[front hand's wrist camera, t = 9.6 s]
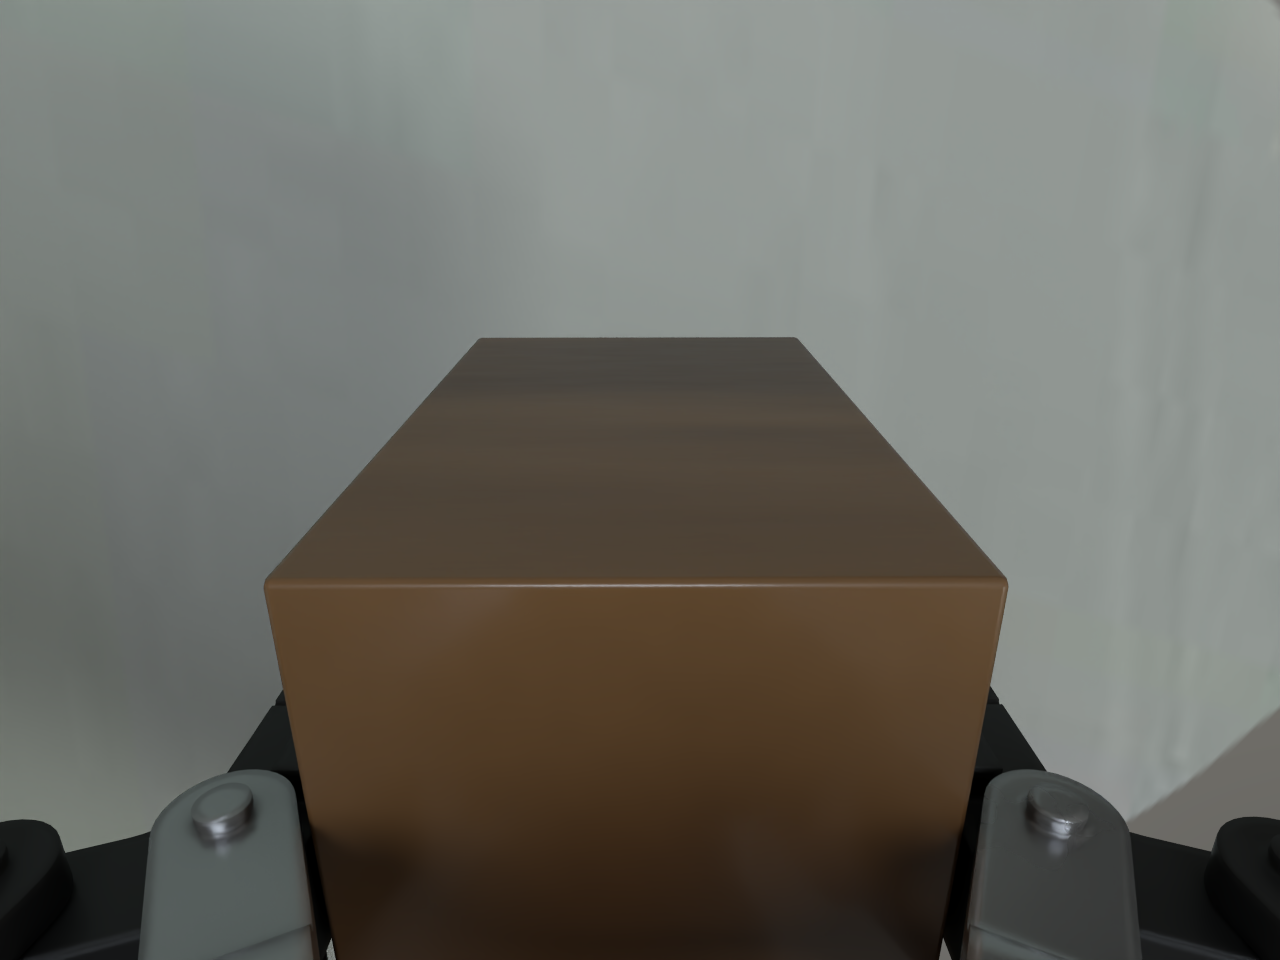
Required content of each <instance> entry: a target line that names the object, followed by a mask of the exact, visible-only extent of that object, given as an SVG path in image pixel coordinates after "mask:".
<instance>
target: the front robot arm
mask: <svg viewBox="0 0 1280 960" xmlns="http://www.w3.org/2000/svg"><path fill="white" fill-rule="evenodd" d="M331 938H332V937H331V932H330V927H329V922H328V916H327V911H326V906H325V901H324V896H323V891H322V886H321V880H320V875H319V870H318V865H317V860H316V855H315V850H314V844H313V839H312V834H311V829H310V824H309V819H308V814H307V808H306V803H305V798H304V793H303V788H302V783H301V778H300V772H299V767H298V762H297V757H296V752H295V747H294V742H293V736H292V731H291V726H290V721H289V716H288V711H287V706H286V701H285V695H284V690H282V692H281V693H280V695H279V696H278V698H277V699H276V705H275V706H272V707H271V708H270V710H269V711H268V713H267V714H266V716H265V717H264V719H263V720H262V722H261V723H260V725H259V726H258V728H257V729H256V731H255V732H254V734H253V735H252V737H251V738H250V740H249V741H248V743H247V744H246V746H245V747H244V749H243V750H242V752H241V753H240V754H239V756H238V757H237V759H236V760H235V762H234V763H233V765H232V766H231V768H230V769H229V771H228V772H227V773H225V774H222V775H219V776H216V777H213V778H210V779H208V780H206V781H203V782H201V783H199V784H197V785H195V786H193V787H192V788H190V789H188V790H187V791H185V792H184V793H182V794H181V795H179V796H178V797H177V798H176V799H174V800H173V801H172V802H171V803H170V804H169V805H168V806H167V807H166V808H165V809H164V810H163V811H162V812H161V814H160V815H159V816H158V818H157V819H156V821H155V823H154V825H153V827H152V829H151V831H150V832H148V833H145V834H142V835H138V836H135V837H131V838H127V839H123V840H119V841H114V842H110V843H106V844H102V845H97V846H93V847H89V848H84V849H80V850H76V851H72V852H67V853H65V851H64V848H63V845H62V842H61V839H60V836H59V835H58V833H57V831H56V830H55V829H54V828H53V827H52V826H51V825H49V824H47V823H44V822H41V821H36V820H23V819H22V820H10V821H5V822H0V960H328V957H327V952H326V950H327V948H328V945H329V943H330V940H331ZM943 938H944V941H945V943H946V946H947V948H948V951H949V954H950V956H951V959H952V960H1280V820H1276V819H1271V818H1264V817H1242V818H1237V819H1233V820H1231V821H1229V822H1227V823H1225V824H1224V825H1223V826H1222V827H1221V828H1220V830H1219V832H1218V834H1217V837H1216V839H1215V842H1214V845H1213V848H1212V851H1211V852H1210V851H1206V850H1202V849H1197V848H1193V847H1189V846H1185V845H1180V844H1176V843H1172V842H1167V841H1163V840H1159V839H1154V838H1150V837H1146V836H1142V835H1139V834H1135V833H1131V832H1129V829H1128V827H1127V825H1126V823H1125V821H1124V819H1123V818H1122V816H1121V815H1120V814H1119V812H1118V811H1117V810H1116V809H1115V808H1114V807H1113V806H1112V805H1111V804H1110V803H1109V802H1108V801H1107V800H1106V799H1104V798H1103V797H1102V796H1101V795H1099V794H1098V793H1096V792H1095V791H1093V790H1092V789H1090V788H1088V787H1087V786H1085V785H1083V784H1081V783H1079V782H1077V781H1074V780H1072V779H1070V778H1067V777H1064V776H1061V775H1058V774H1055V773H1051V772H1047V771H1046V769H1045V768H1044V766H1043V765H1042V763H1041V762H1040V760H1039V759H1038V757H1037V756H1036V754H1035V753H1034V751H1033V750H1032V748H1031V747H1030V745H1029V744H1028V742H1027V741H1026V739H1025V738H1024V736H1023V735H1022V733H1021V732H1020V730H1019V729H1018V727H1017V726H1016V724H1015V723H1014V721H1013V720H1012V718H1011V717H1010V715H1009V714H1008V712H1007V711H1006V709H1005V708H1004V706H1003V705H1002V704H999V699H998V697H997V696H996V694H995V693H994V691H993V690H992V688H991V687H990V688H989V694H988V699H987V704H986V710H985V715H984V720H983V726H982V731H981V736H980V742H979V747H978V752H977V758H976V763H975V769H974V774H973V779H972V785H971V790H970V795H969V801H968V806H967V811H966V817H965V822H964V827H963V833H962V838H961V844H960V849H959V854H958V860H957V865H956V870H955V876H954V881H953V886H952V892H951V897H950V902H949V908H948V913H947V918H946V924H945V929H944V935H943Z"/></svg>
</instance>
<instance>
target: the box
mask: <svg viewBox="0 0 1280 960" xmlns="http://www.w3.org/2000/svg"><path fill="white" fill-rule="evenodd" d="M1007 592H1008V582H1007V578H1006V577H1005V576H1004V575H1003V574H1002V572H1001V571H1000V570H999V569H998V568H997V567H996V566H995V564H994V563H993V562H992V561H991V560H990V559H989V558H988V556H987V555H986V554H985V553H984V552H983V551H982V550H981V548H980V547H979V546H978V545H977V544H976V543H975V541H974V540H973V539H972V538H971V537H970V536H969V535H968V533H967V532H966V531H965V530H964V529H963V528H962V527H961V525H960V524H959V523H958V522H957V521H956V520H955V519H954V517H953V516H952V515H951V514H950V513H949V512H948V511H947V509H946V508H945V507H944V506H943V505H942V504H941V503H940V501H939V500H938V499H937V498H936V497H935V496H934V494H933V493H932V492H931V491H930V490H929V489H928V488H927V486H926V485H925V484H924V483H923V482H922V481H921V480H920V478H919V477H918V476H917V475H916V474H915V473H914V472H913V470H912V469H911V468H910V467H909V466H908V465H907V464H906V462H905V461H904V460H903V459H902V458H901V457H900V455H899V454H898V453H897V452H896V451H895V450H894V449H893V447H892V446H891V445H890V444H889V443H888V442H887V441H886V439H885V438H884V437H883V436H882V435H881V434H880V433H879V431H878V430H877V429H876V428H875V427H874V426H873V425H872V423H871V422H870V421H869V420H868V419H867V418H866V416H865V415H864V414H863V413H862V412H861V411H860V410H859V408H858V407H857V406H856V405H855V404H854V403H853V402H852V400H851V399H850V398H849V397H848V396H847V395H846V394H845V392H844V391H843V390H842V389H841V388H840V387H839V386H838V384H837V383H836V382H835V381H834V380H833V379H832V378H831V376H830V375H829V374H828V373H827V372H826V371H825V369H824V368H823V367H822V366H821V365H820V364H819V363H818V361H817V360H816V359H815V358H814V357H813V356H812V355H811V353H810V352H809V351H808V350H807V349H806V348H805V347H804V345H803V344H802V343H801V342H800V341H799V340H798V339H797V338H795V337H733V338H480V339H478V340H477V342H476V343H475V344H474V345H473V346H472V347H471V348H470V349H469V351H468V352H467V353H466V354H465V355H464V356H463V357H462V358H461V360H460V361H459V362H458V363H457V364H456V365H455V366H454V368H453V369H452V370H451V371H450V372H449V373H448V374H447V375H446V377H445V378H444V379H443V380H442V381H441V382H440V383H439V384H438V386H437V387H436V388H435V389H434V390H433V391H432V392H431V393H430V395H429V396H428V397H427V398H426V399H425V400H424V401H423V402H422V404H421V405H420V406H419V407H418V408H417V409H416V410H415V411H414V413H413V414H412V415H411V416H410V417H409V418H408V419H407V420H406V422H405V423H404V424H403V425H402V426H401V427H400V428H399V430H398V431H397V432H396V433H395V434H394V435H393V436H392V437H391V439H390V440H389V441H388V442H387V443H386V444H385V445H384V446H383V448H382V449H381V450H380V451H379V452H378V453H377V454H376V455H375V457H374V458H373V459H372V460H371V461H370V462H369V463H368V464H367V466H366V467H365V468H364V469H363V470H362V471H361V472H360V473H359V475H358V476H357V477H356V478H355V479H354V480H353V481H352V482H351V484H350V485H349V486H348V487H347V488H346V489H345V490H344V491H343V493H342V494H341V495H340V496H339V497H338V498H337V499H336V501H335V502H334V503H333V504H332V505H331V506H330V507H329V508H328V510H327V511H326V512H325V513H324V514H323V515H322V516H321V517H320V519H319V520H318V521H317V522H316V523H315V524H314V525H313V526H312V528H311V529H310V530H309V531H308V532H307V533H306V534H305V535H304V537H303V538H302V539H301V540H300V541H299V542H298V543H297V544H296V546H295V547H294V548H293V549H292V550H291V551H290V552H289V553H288V555H287V556H286V557H285V558H284V559H283V560H282V561H281V562H280V564H279V565H278V566H277V567H276V568H275V569H274V570H273V572H272V573H271V574H270V575H269V576H268V577H267V578H266V580H265V583H264V593H265V598H266V603H267V608H268V613H269V618H270V623H271V629H272V634H273V639H274V644H275V649H276V654H277V659H278V665H279V670H280V675H281V680H282V685H283V690H284V695H285V701H286V706H287V711H288V716H289V721H290V726H291V731H292V736H293V742H294V747H295V752H296V757H297V762H298V767H299V772H300V778H301V783H302V788H303V793H304V798H305V803H306V808H307V814H308V819H309V824H310V829H311V834H312V839H313V844H314V850H315V855H316V860H317V865H318V870H319V875H320V880H321V886H322V891H323V896H324V901H325V906H326V911H327V916H328V922H329V927H330V932H331V937H332V942H333V947H334V952H335V958H336V960H939V956H940V951H941V945H942V940H943V935H944V929H945V924H946V918H947V913H948V908H949V902H950V897H951V892H952V886H953V881H954V876H955V870H956V865H957V860H958V854H959V849H960V844H961V838H962V833H963V827H964V822H965V817H966V811H967V806H968V801H969V795H970V790H971V785H972V779H973V774H974V769H975V763H976V758H977V752H978V747H979V742H980V736H981V731H982V726H983V720H984V715H985V710H986V704H987V699H988V694H989V688H990V683H991V677H992V672H993V667H994V661H995V656H996V651H997V645H998V640H999V635H1000V629H1001V624H1002V619H1003V613H1004V608H1005V602H1006V597H1007Z"/></svg>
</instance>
